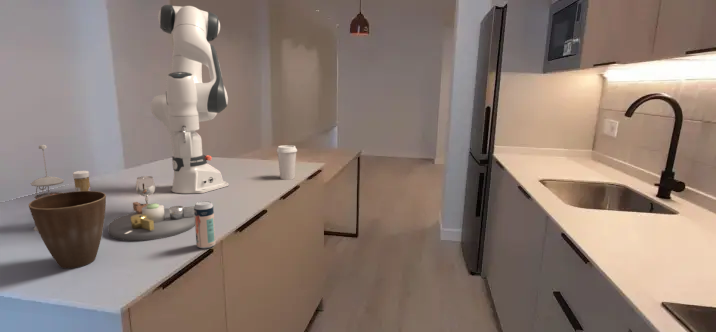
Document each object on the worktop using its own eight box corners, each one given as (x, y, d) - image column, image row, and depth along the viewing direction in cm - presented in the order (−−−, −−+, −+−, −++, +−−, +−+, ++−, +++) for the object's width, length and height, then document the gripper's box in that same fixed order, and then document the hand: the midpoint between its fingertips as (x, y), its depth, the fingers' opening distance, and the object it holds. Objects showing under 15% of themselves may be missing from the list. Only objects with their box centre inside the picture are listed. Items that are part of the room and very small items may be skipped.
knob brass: (128, 226, 118) (127, 216, 117) (142, 222, 121) (141, 212, 121) (145, 232, 113) (144, 221, 113) (158, 228, 117) (157, 217, 116)
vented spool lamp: (41, 233, 118) (29, 148, 113) (24, 226, 124) (12, 144, 119) (79, 224, 126) (69, 144, 121) (61, 217, 132) (51, 140, 127)
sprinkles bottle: (93, 210, 140) (88, 172, 137) (77, 212, 137) (72, 173, 135) (93, 207, 143) (88, 169, 141) (77, 209, 141) (72, 171, 138)
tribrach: (173, 209, 142) (172, 190, 141) (211, 225, 127) (210, 204, 125) (95, 227, 124) (93, 205, 122) (129, 247, 109) (126, 223, 107)
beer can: (199, 242, 113) (196, 200, 110) (217, 242, 113) (215, 200, 111) (194, 249, 108) (191, 206, 106) (212, 249, 108) (210, 205, 106)
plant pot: (92, 275, 93) (83, 207, 90) (22, 277, 92) (11, 208, 89) (123, 249, 107) (117, 190, 104) (64, 250, 106) (55, 191, 103)
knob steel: (169, 219, 124) (168, 209, 124) (170, 215, 128) (169, 205, 127) (199, 216, 127) (198, 206, 127) (199, 213, 131) (198, 203, 130)
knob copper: (153, 214, 129) (152, 204, 128) (140, 217, 126) (139, 207, 125) (142, 209, 134) (141, 199, 134) (129, 211, 131) (128, 202, 131)
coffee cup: (302, 177, 193) (301, 146, 190) (288, 181, 185) (287, 148, 182) (286, 175, 198) (286, 144, 195) (272, 178, 190) (271, 146, 187)
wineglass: (138, 215, 135) (134, 180, 133) (138, 210, 140) (135, 176, 138) (157, 213, 138) (154, 178, 135) (157, 208, 143) (154, 175, 140)
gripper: (194, 127, 122) (198, 173, 125) (194, 120, 140) (197, 160, 143) (171, 128, 119) (175, 174, 122) (174, 121, 138) (178, 161, 141)
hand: (187, 166), depth 133 cm, fingers open, 8 cm apart
